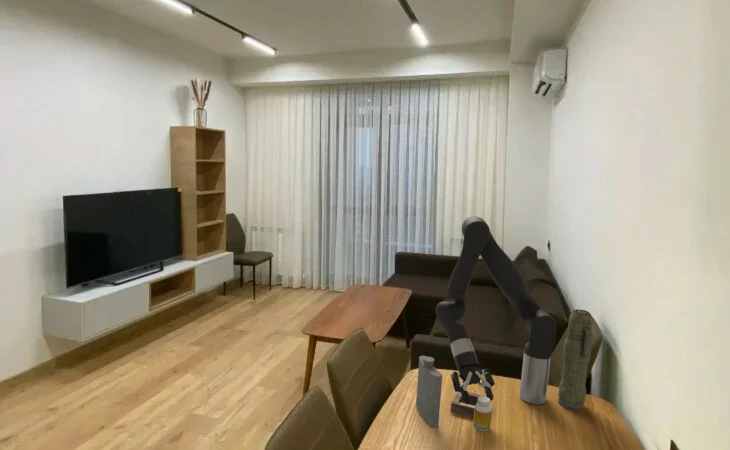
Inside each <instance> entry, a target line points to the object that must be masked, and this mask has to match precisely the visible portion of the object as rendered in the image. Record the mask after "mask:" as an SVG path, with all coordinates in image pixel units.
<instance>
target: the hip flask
mask: <svg viewBox="0 0 730 450" xmlns="http://www.w3.org/2000/svg"><path fill="white" fill-rule="evenodd" d="M434 363H435V358H434V357H432V356H427V355H420V356H419V358H418V368H417V369H418V370H417V372H418V373H417V383H416V384H417V385H416V386H417V387H416V398H415V399H416V401H415V406H416V408H417V411H418V413H419V416H420V417H421V418H422V420H423V421H424V422H425V423H426V424H427V425H428V426H429V427H430V428H431V429H437V428H438V427H439V425H440V424H439V423H440V410H441V397H442V396H441V395H442V384H443V382H442V381H443V373H441V372H440V371H439V370H437V368H436V367H435V366H434Z"/></svg>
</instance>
